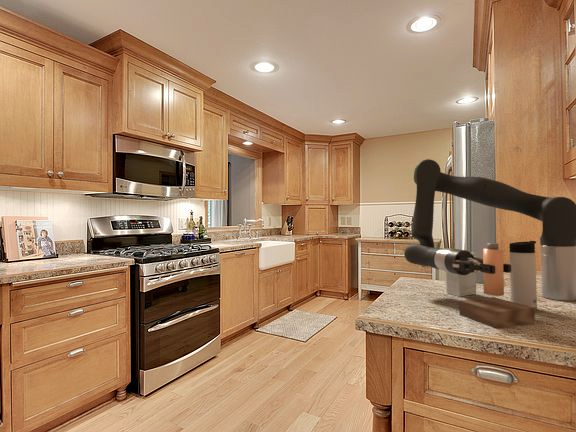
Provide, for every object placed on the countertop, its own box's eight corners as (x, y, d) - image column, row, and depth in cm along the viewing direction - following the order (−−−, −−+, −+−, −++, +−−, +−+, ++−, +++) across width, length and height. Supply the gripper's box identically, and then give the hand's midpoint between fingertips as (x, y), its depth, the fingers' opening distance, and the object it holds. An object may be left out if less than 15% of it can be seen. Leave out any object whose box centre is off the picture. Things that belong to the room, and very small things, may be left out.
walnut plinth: (494, 310, 94) (493, 297, 94) (534, 323, 82) (534, 307, 83) (459, 314, 91) (459, 300, 91) (496, 328, 80) (496, 312, 80)
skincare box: (463, 291, 119) (461, 250, 120) (477, 294, 114) (476, 252, 114) (445, 293, 117) (444, 252, 117) (459, 297, 111) (458, 253, 111)
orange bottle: (493, 291, 90) (492, 242, 90) (508, 295, 85) (507, 243, 85) (479, 292, 89) (478, 243, 89) (494, 296, 84) (493, 244, 84)
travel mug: (543, 312, 92) (540, 241, 92) (517, 311, 93) (514, 241, 93) (531, 306, 98) (529, 240, 98) (507, 305, 99) (505, 240, 100)
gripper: (433, 249, 99) (479, 256, 83) (472, 248, 103) (523, 253, 86) (434, 274, 99) (480, 285, 83) (472, 271, 103) (524, 281, 86)
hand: (502, 269), depth 84 cm, fingers closed on orange bottle, 4 cm apart
